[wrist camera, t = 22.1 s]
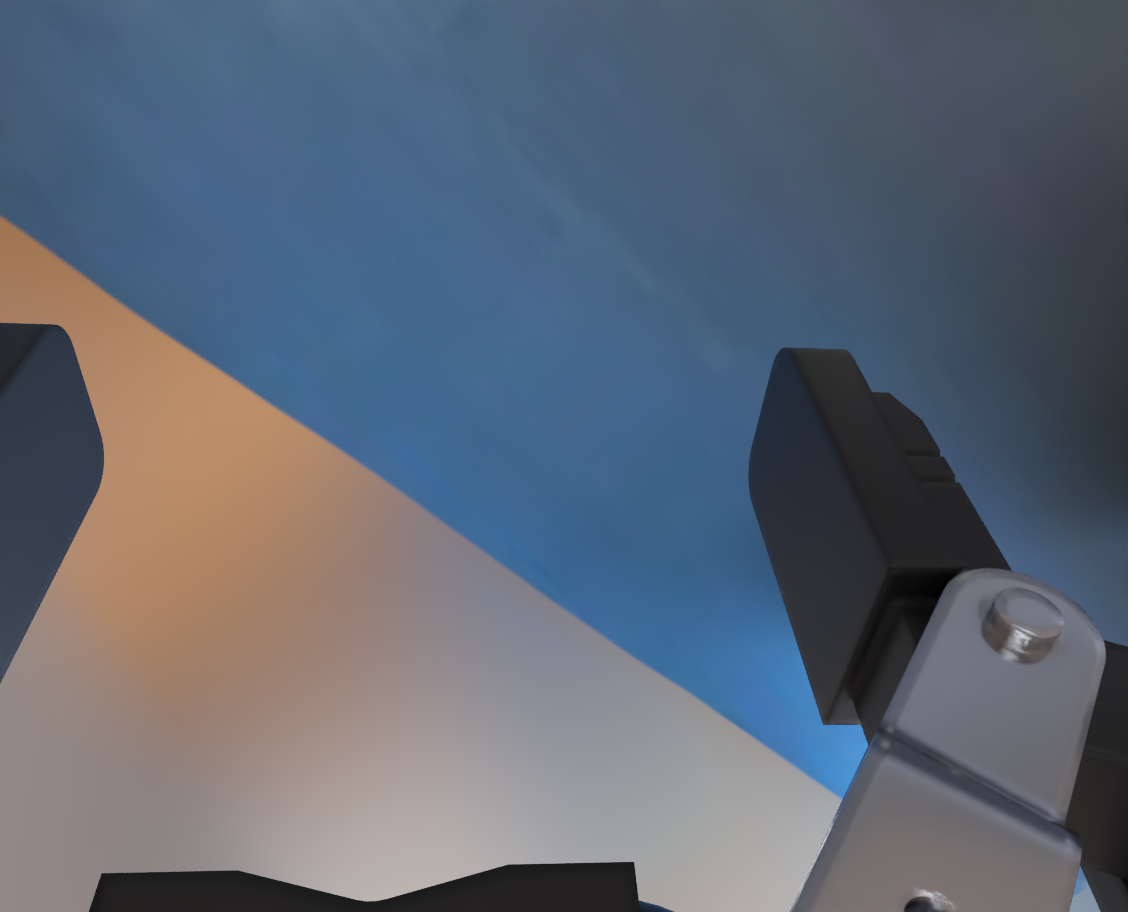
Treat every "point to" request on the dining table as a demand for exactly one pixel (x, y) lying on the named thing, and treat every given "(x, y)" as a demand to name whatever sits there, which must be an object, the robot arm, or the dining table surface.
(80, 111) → the dining table surface
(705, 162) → the dining table surface
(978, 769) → the robot arm
